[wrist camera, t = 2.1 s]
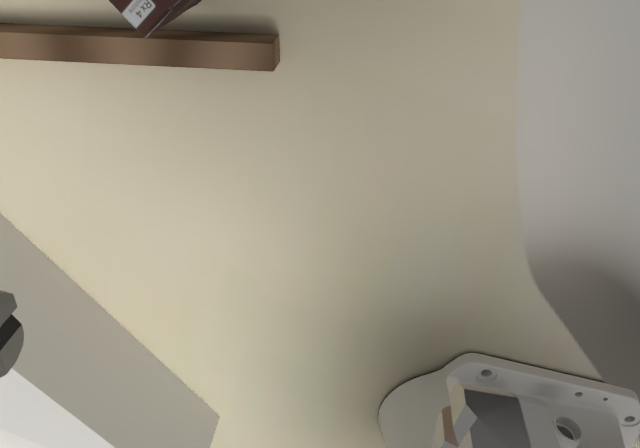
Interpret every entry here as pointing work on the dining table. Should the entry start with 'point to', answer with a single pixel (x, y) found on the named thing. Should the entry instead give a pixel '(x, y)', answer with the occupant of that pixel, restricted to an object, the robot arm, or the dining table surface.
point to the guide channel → (140, 47)
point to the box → (152, 12)
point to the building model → (85, 369)
